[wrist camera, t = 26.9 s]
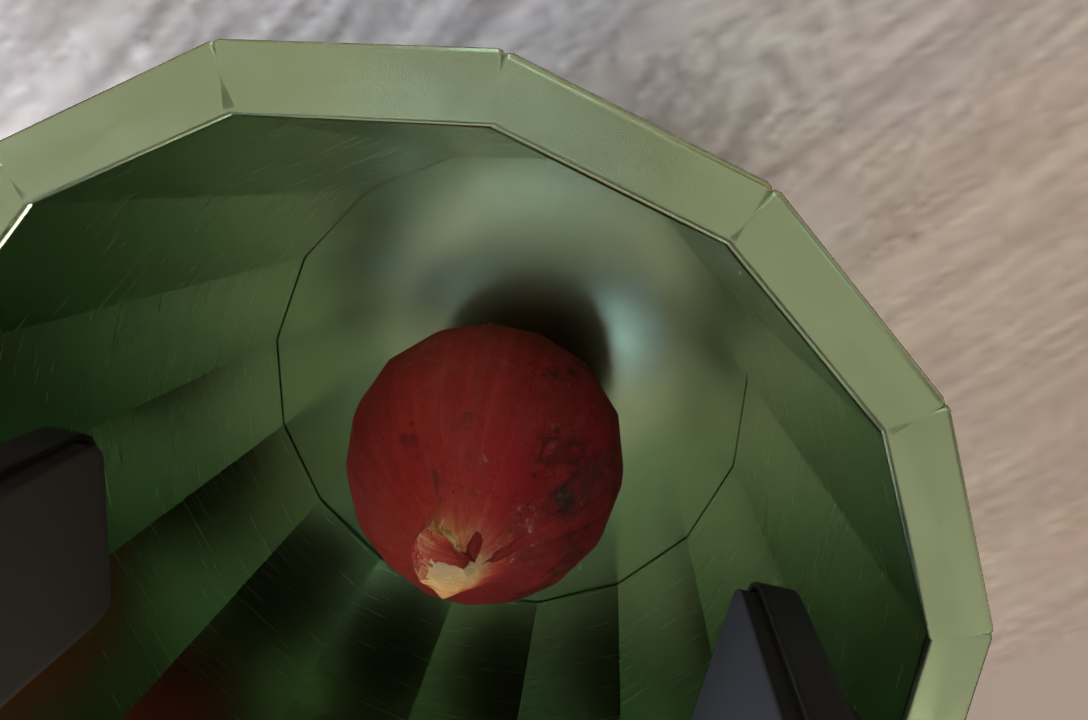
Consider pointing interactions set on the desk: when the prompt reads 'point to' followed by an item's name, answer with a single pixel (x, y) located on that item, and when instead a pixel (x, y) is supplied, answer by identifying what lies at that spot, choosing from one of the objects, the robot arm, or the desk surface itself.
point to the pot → (411, 316)
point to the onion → (484, 463)
